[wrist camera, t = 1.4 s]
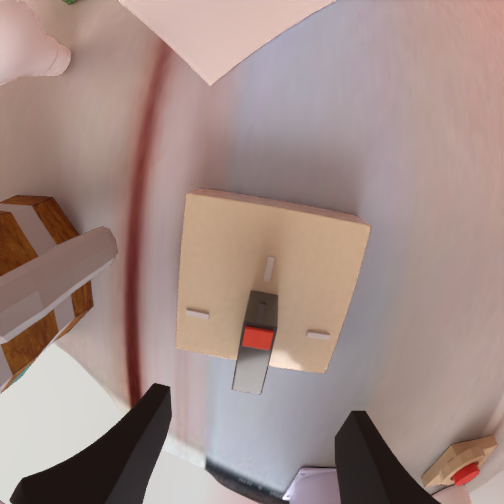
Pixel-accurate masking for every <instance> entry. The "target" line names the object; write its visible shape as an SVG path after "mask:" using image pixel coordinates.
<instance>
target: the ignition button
mask: <svg viewBox="0 0 504 504" xmlns="http://www.w3.org/2000/svg"><path fill="white" fill-rule="evenodd" d="M479 472H480V470H479V468H478V466H477V464H476V462H473V463H470V464H469V465H467V466H465V467H463V468H462V469H460V470H459V471H457V472H456V473H455V474H454V475H453V476H452V478H453V480H454V483H455V486H461V485H463V484H465V483H467V482H469V481H471V480H472V479H473V478H475V477H476V476H477V475H478V474H479Z"/></svg>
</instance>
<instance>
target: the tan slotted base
mask: <svg viewBox="0 0 504 504" xmlns="http://www.w3.org/2000/svg"><path fill="white" fill-rule="evenodd" d="M370 230H371V226H370V225H369V224H368V223H366V222H365V221H364V220H362V219H361V218H360V217H358V216H356V215H351V214H347V213H342V212H337V211H332V210H327V209H322V208H317V207H312V206H307V205H302V204H296V203H291V202H286V201H280V200H274V199H269V198H263V197H257V196H251V195H245V194H239V193H232V192H226V191H219V190H212V189H205V188H200V189H197V190H194V191H191V192H189V193H187V194H186V202H185V211H184V221H183V231H182V242H181V255H180V268H179V283H178V300H177V323H176V347H177V348H181V349H185V350H189V351H194V352H198V353H202V354H207V355H212V356H216V357H221V358H226V359H231V360H237V355H238V349H239V343H240V337H241V331H242V325H243V320H244V316H245V312H246V307H247V303H248V299H249V294H250V291H251V290H253V291H259V292H264V293H270V294H276V295H278V296H279V300H278V329H277V333H276V337H275V341H274V346H273V350H272V354H271V358H270V362H269V366H272V367H278V368H285V369H292V370H300V371H308V372H316V373H326V370H327V367H328V365H329V362H330V360H331V357H332V354H333V351H334V349H335V346H336V343H337V340H338V338H339V335H340V332H341V329H342V326H343V323H344V320H345V317H346V314H347V311H348V308H349V305H350V302H351V298H352V295H353V292H354V289H355V285H356V282H357V278H358V275H359V271H360V268H361V264H362V261H363V257H364V253H365V249H366V246H367V242H368V238H369V234H370Z"/></svg>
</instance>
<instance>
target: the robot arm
mask: <svg viewBox="0 0 504 504" xmlns="http://www.w3.org/2000/svg"><path fill="white" fill-rule="evenodd" d="M171 417H172V411H171V394H170V387H169V386H165V385H161V384H157V383H154V384H152V386H151V387H150V388H149V390H148V391H147V392H146V393H145V394H144V396H143V397H142V398H141V399H140V400H139V401H138V402H137V404H136V405H135V406H134V407H133V408H132V409H131V410H130V411H129V412H128V413H127V414H126V415H125V416H124V417H123V418H122V419H121V420H120V421H119V422H118V423H117V424H116V425H115V426H113V427H112V428H111V429H110V430H109V431H108V432H107V433H105V435H103V436H102V437H101V438H99V439H98V440H97V441H95V442H94V443H93V444H91V445H90V446H88V447H87V448H85V449H84V450H83V451H81V452H79V453H78V454H76V455H74V456H73V457H71V458H69V459H67V460H66V461H64V462H62V463H59V464H57V465H55V466H53V467H51V468H49V469H47V470H44V471H42V472H39V473H36V474H33V475H30V476H28V477H24V478H22V480H21V481H20V482H19V484H18V485H17V487H16V488H15V490H14V492H13V494H12V496H11V498H10V502H11V503H12V504H142V503H143V499H144V495H145V491H146V487H147V485H148V481H149V479H150V476H151V474H152V471H153V469H154V466H155V464H156V461H157V459H158V456H159V454H160V451H161V449H162V447H163V444H164V442H165V439H166V436H167V432H168V429H169V425H170V421H171ZM335 463H336V468H301V469H300V470H299V472H298V474H297V475H296V477H295V478H294V480H293V481H292V483H291V485H290V486H289V488H288V489H287V491H286V492H285V494H284V495H283V498H282V499H283V500H290V503H289V504H441V503H440V502H439V501H437V500H436V499H435V498H433V497H432V496H431V495H430V494H429V493H428V492H426V491H425V490H424V489H423V488H422V487H421V486H420V485H419V484H418V483H417V482H416V481H415V480H414V479H413V478H412V477H411V476H410V475H409V473H408V472H407V471H406V470H405V469H404V467H403V466H402V465H401V464H400V462H399V461H398V460H397V458H396V457H395V456H394V454H393V453H392V451H391V450H390V448H389V447H388V445H387V444H386V443H385V441H384V440H383V438H382V436H381V435H380V433H379V432H378V430H377V429H376V427H375V425H374V424H373V422H372V421H371V419H370V418H369V416H368V414H367V413H366V411H351V413H350V414H349V416H348V418H347V419H346V421H345V422H344V424H343V425H342V427H341V429H340V430H339V432H338V433H337V435H336V436H335ZM0 504H5V503H3V502H2V501H0Z"/></svg>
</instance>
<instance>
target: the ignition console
mask: <svg viewBox="0 0 504 504" xmlns="http://www.w3.org/2000/svg"><path fill="white" fill-rule="evenodd" d="M497 445H498V444H497V442H496V440H495V438H494V437H493V435H491V436H487V437H483V438H479V439H475V440H471V441H466V442H462V443H457V444H452V445H451V446H450V447H449V448H448V449H447V450H446V451H445V452H444V453H443V455H442V456H441V457H440V458H439V459H438V460H437V461H436V462H435V463H434V464H433V465H432V466H431V467H430V468H429V469H428V470H427V471H426V472H425V473H424V474H423V475H422V476H421V478H422V481H423V484H424V487H429V486H434V485H438V484H444V485H450V484H454V480H453V478H452V476H453V475H454V474H455V473H456V472H457V471H459V470H460V469H462V468H463V467H465V466H467V465H469V464H470V463H473V462H476V464H477V466H478V468H479V467H480V466H481V465H482V464H483V463H484V462H485V460H486V457H487V456H488V455H489V454H490V453H491V452H492V451H493V450H494V449H495V448H496V446H497Z"/></svg>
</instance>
